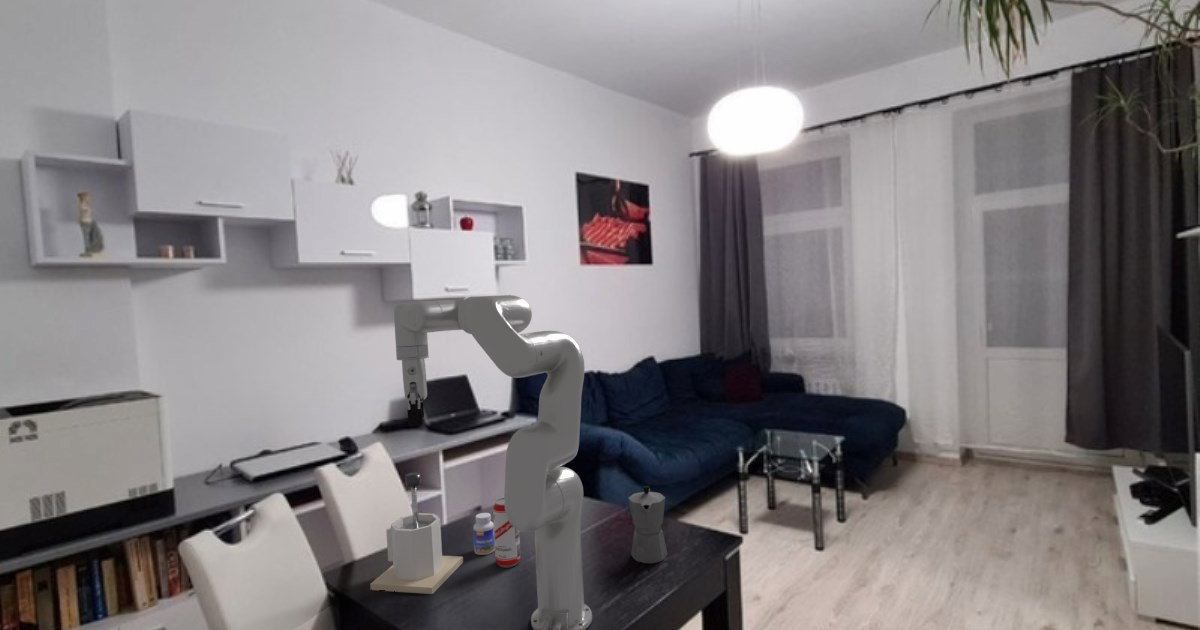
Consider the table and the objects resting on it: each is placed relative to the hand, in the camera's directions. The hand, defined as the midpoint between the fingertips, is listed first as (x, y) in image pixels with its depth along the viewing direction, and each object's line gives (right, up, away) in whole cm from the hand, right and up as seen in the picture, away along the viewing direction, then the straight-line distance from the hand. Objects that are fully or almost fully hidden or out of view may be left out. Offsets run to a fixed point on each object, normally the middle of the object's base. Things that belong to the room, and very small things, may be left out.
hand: (416, 421), depth 143 cm
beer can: (+22, -37, +5) cm, 43 cm away
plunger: (0, -27, 0) cm, 27 cm away
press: (+1, -38, 0) cm, 38 cm away
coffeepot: (+58, -35, +6) cm, 68 cm away
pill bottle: (+14, -37, +12) cm, 42 cm away
